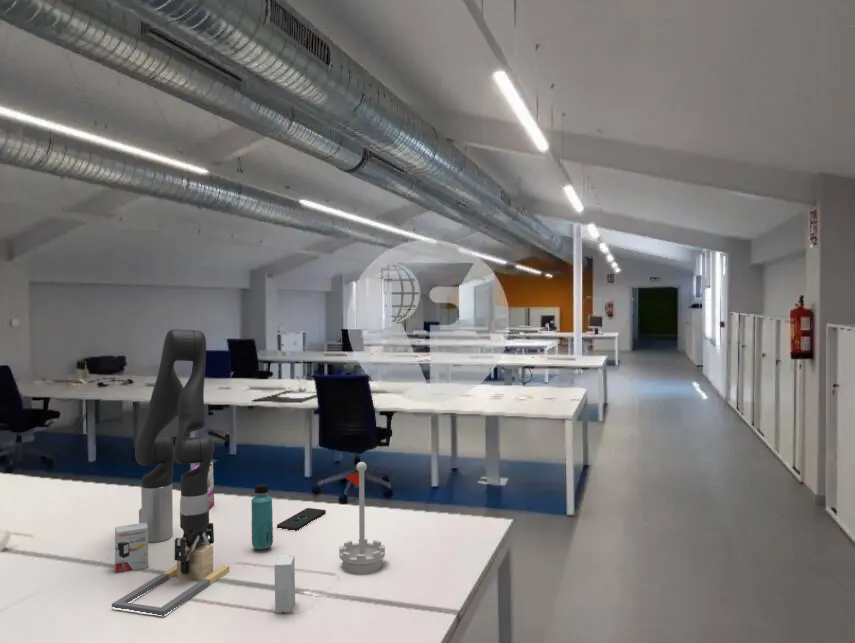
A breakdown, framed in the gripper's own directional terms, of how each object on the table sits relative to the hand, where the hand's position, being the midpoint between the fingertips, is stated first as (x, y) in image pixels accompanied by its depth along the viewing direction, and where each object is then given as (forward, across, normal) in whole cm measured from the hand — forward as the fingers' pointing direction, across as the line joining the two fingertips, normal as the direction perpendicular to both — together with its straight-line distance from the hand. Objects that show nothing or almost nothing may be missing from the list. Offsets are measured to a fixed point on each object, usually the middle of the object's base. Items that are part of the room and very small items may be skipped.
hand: (195, 567), depth 175 cm
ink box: (+3, 0, -21) cm, 21 cm away
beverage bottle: (+2, -22, +8) cm, 24 cm away
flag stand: (+3, -19, +42) cm, 46 cm away
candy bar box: (+3, -50, -33) cm, 60 cm away
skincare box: (+2, +10, +33) cm, 35 cm away
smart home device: (+3, -49, +8) cm, 50 cm away
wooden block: (+2, 0, 0) cm, 2 cm away
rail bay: (+2, +8, 0) cm, 8 cm away
